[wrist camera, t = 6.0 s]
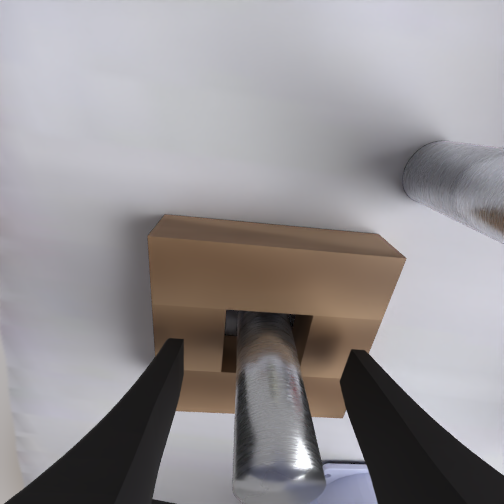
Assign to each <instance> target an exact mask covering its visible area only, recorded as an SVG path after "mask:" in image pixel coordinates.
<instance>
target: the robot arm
mask: <svg viewBox="0 0 504 504" xmlns="http://www.w3.org/2000/svg"><path fill="white" fill-rule="evenodd" d="M183 376H184V339H177V338H168V339H167V340H166V341H165V343H164V345H163V346H162V348H161V349H160V351H159V352H158V354H157V355H156V356H155V358H154V359H153V361H152V362H151V363H150V365H149V366H148V367H147V369H146V370H145V371H144V372H143V374H142V375H141V376H140V377H139V379H138V380H137V381H136V382H135V384H134V385H133V386H132V387H131V388H130V389H129V391H128V392H127V393H126V394H125V395H124V396H123V398H122V399H121V400H120V401H119V402H118V403H117V404H116V405H115V406H114V408H113V409H112V410H111V411H110V412H109V413H108V414H107V415H106V416H105V417H104V418H103V419H102V420H101V421H100V422H99V423H98V424H97V425H96V426H95V427H94V428H93V429H92V430H91V431H90V432H89V433H88V434H87V435H86V436H84V437H83V438H82V439H81V440H80V441H79V442H78V443H77V444H76V445H75V446H74V447H73V448H72V449H70V450H69V451H68V452H67V453H66V454H65V455H64V456H63V457H61V458H60V459H59V460H58V461H57V462H55V463H54V464H53V465H52V466H51V467H49V468H48V469H47V470H46V471H45V472H43V473H42V474H41V475H40V476H39V477H38V478H36V479H35V480H34V481H33V482H31V483H30V484H29V485H28V486H26V487H25V488H24V489H23V490H22V491H20V492H19V493H17V494H16V495H15V496H13V497H12V498H11V499H10V500H8V501H7V502H6V503H4V504H151V502H152V497H153V493H154V488H155V483H156V479H157V474H158V470H159V466H160V462H161V458H162V455H163V452H164V448H165V445H166V442H167V438H168V435H169V431H170V428H171V425H172V421H173V418H174V415H175V411H176V408H177V404H178V401H179V397H180V392H181V386H182V381H183ZM340 386H341V391H342V395H343V399H344V403H345V407H346V410H347V413H348V416H349V418H350V421H351V424H352V427H353V429H354V432H355V435H356V438H357V440H358V443H359V446H360V449H361V451H362V454H363V457H364V460H365V462H366V464H333V463H327V464H324V465H323V471H324V475H325V479H326V487H325V489H324V491H323V493H322V494H321V495H320V496H319V497H318V498H316V499H315V500H313V501H311V502H310V503H307V504H504V475H502V474H501V473H499V472H498V471H497V470H495V469H494V468H493V467H491V466H490V465H489V464H487V463H486V462H485V461H483V460H482V459H481V458H480V457H478V456H477V455H476V454H474V453H473V452H472V451H470V450H469V449H468V448H467V447H465V446H464V445H463V444H462V443H461V442H459V441H458V440H457V439H456V438H455V437H453V436H452V435H451V434H450V433H449V432H447V431H446V430H445V429H444V428H443V427H442V426H440V425H439V424H438V423H437V422H436V421H435V420H434V419H433V418H432V417H430V416H429V415H428V414H427V413H426V412H425V411H424V410H423V409H422V408H421V407H420V406H419V405H418V404H417V403H416V402H415V401H414V400H413V399H412V398H411V397H410V396H409V395H408V394H407V393H406V392H405V391H404V390H403V389H402V388H401V387H400V386H399V385H398V384H397V383H396V382H395V381H394V380H393V379H392V378H391V377H390V376H389V375H388V374H387V373H386V372H385V371H384V370H383V369H382V368H381V366H380V365H379V364H378V363H377V362H376V361H375V360H374V359H373V358H372V357H371V356H370V355H369V354H368V353H367V352H366V351H365V350H357V349H351V351H350V354H349V356H348V359H347V362H346V365H345V368H344V370H343V373H342V376H341V379H340Z"/></svg>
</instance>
